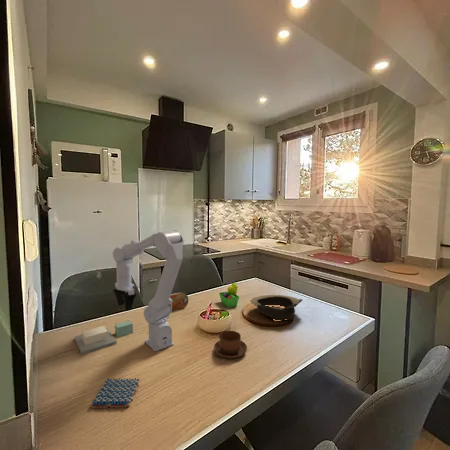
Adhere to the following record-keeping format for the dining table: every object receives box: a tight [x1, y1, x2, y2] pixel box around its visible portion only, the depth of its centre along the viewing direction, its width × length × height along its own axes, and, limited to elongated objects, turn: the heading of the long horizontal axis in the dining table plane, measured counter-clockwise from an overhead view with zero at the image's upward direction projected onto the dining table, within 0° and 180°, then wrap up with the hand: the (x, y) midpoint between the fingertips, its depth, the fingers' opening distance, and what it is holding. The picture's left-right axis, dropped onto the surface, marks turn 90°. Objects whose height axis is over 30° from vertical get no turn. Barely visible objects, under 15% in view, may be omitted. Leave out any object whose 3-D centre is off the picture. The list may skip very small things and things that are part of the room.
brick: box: [114, 319, 134, 338], centre depth 108 cm, size 4×6×4 cm, turn 129°
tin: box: [170, 291, 189, 313], centre depth 133 cm, size 15×3×8 cm, turn 125°
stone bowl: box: [249, 294, 303, 320], centre depth 129 cm, size 25×25×9 cm
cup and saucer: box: [213, 330, 248, 359], centre depth 95 cm, size 12×12×6 cm
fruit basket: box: [218, 282, 240, 308], centre depth 141 cm, size 11×9×11 cm
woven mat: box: [90, 377, 140, 409], centre depth 73 cm, size 10×11×2 cm
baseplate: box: [73, 325, 117, 356], centre depth 101 cm, size 14×12×4 cm
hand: (124, 307), depth 109 cm, fingers open, 7 cm apart
